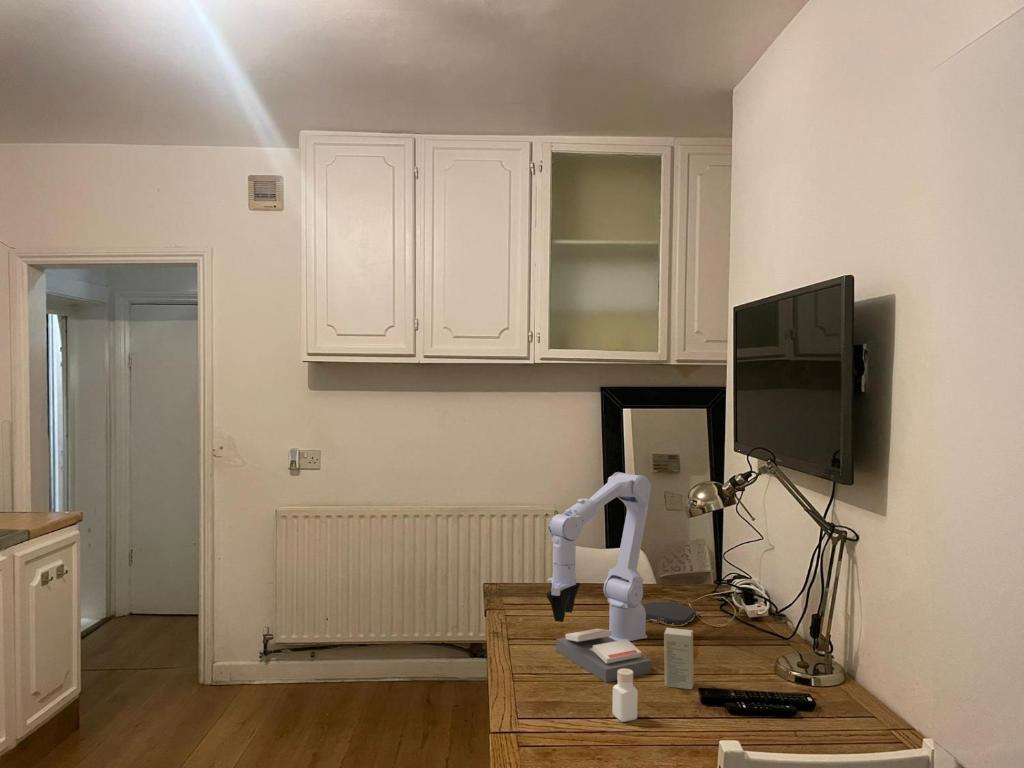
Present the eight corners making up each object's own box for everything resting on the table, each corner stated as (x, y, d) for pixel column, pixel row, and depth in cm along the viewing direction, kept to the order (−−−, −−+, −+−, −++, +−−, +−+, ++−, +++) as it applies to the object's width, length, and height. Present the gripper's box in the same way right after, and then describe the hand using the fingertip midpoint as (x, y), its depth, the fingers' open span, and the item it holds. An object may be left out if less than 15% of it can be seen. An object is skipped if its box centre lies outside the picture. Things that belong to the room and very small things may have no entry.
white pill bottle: (621, 723, 146) (622, 676, 146) (611, 715, 150) (611, 669, 150) (638, 720, 148) (639, 673, 148) (627, 711, 151) (628, 666, 151)
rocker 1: (598, 633, 189) (597, 628, 189) (611, 635, 184) (611, 630, 184) (565, 639, 184) (565, 634, 185) (578, 641, 179) (577, 636, 179)
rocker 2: (626, 643, 178) (626, 639, 178) (640, 656, 173) (641, 652, 173) (592, 650, 174) (592, 645, 173) (606, 663, 168) (607, 659, 168)
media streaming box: (699, 616, 216) (699, 606, 216) (682, 630, 203) (683, 619, 203) (652, 607, 224) (653, 598, 224) (634, 620, 211) (634, 610, 211)
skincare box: (693, 683, 167) (694, 629, 167) (692, 690, 162) (693, 636, 162) (665, 678, 169) (666, 626, 169) (663, 686, 165) (663, 632, 165)
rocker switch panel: (598, 642, 191) (598, 630, 191) (651, 672, 172) (651, 659, 172) (556, 650, 185) (556, 638, 185) (605, 682, 166) (606, 668, 166)
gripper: (557, 554, 191) (557, 606, 191) (539, 567, 177) (539, 623, 178) (583, 557, 189) (583, 609, 189) (567, 570, 175) (567, 627, 175)
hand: (563, 616), depth 183 cm, fingers open, 7 cm apart
